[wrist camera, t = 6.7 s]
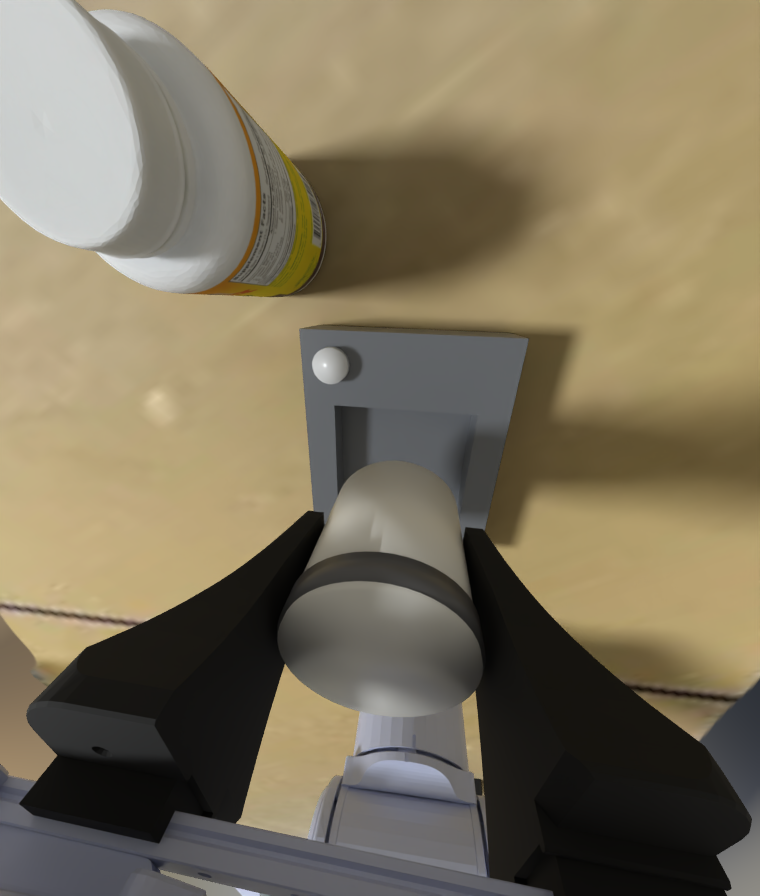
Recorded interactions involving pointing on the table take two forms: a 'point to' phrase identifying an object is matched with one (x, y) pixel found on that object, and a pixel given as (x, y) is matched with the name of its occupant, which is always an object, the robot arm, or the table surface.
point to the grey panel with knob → (410, 406)
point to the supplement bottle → (146, 157)
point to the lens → (387, 599)
